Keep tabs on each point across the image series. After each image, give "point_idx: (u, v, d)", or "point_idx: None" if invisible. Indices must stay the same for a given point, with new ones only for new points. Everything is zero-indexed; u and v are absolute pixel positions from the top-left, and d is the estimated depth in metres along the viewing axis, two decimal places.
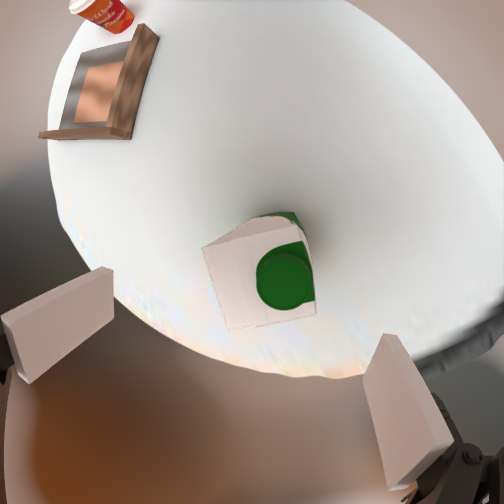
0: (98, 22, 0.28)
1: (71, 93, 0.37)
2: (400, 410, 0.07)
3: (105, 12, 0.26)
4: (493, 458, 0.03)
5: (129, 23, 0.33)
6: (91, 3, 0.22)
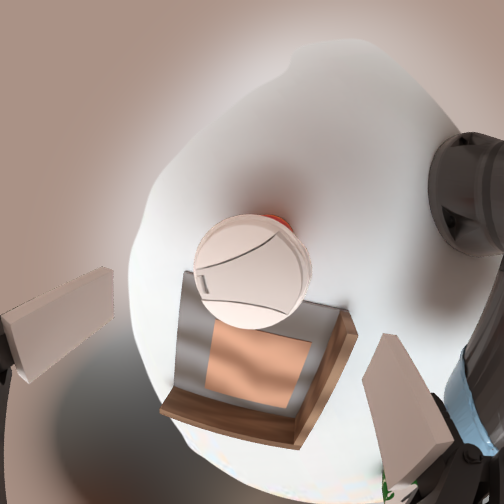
0: None
1: (186, 345, 0.34)
2: (400, 410, 0.07)
3: None
4: (493, 458, 0.03)
5: None
6: None
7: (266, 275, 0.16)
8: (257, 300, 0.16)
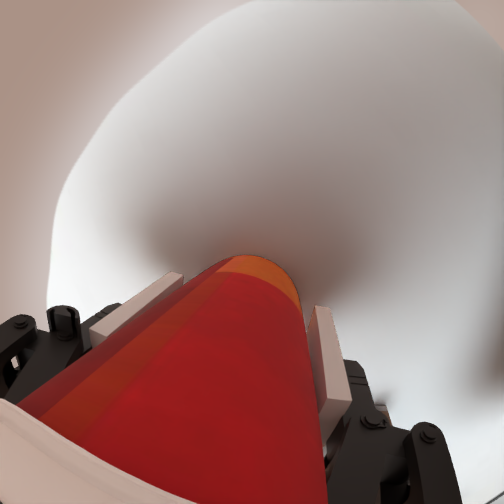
0: None
1: None
2: (313, 371, 0.09)
3: None
4: (407, 437, 0.05)
5: None
6: None
7: None
8: None
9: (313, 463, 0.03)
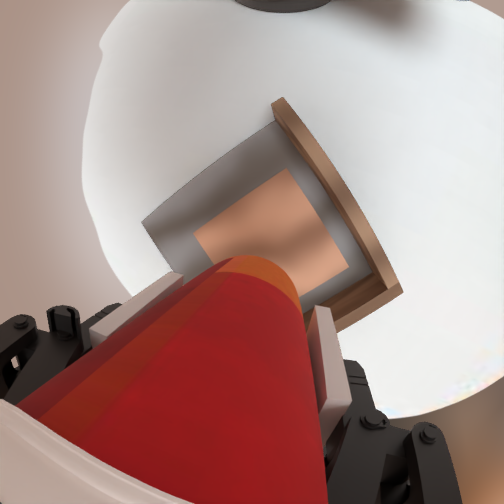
0: None
1: None
2: (313, 371, 0.09)
3: None
4: (407, 436, 0.05)
5: None
6: None
7: None
8: None
9: (313, 464, 0.03)
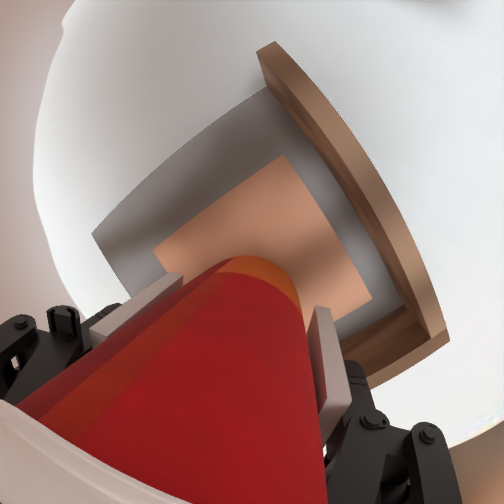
0: None
1: None
2: (313, 371, 0.09)
3: None
4: (407, 436, 0.05)
5: None
6: None
7: None
8: None
9: (313, 464, 0.03)
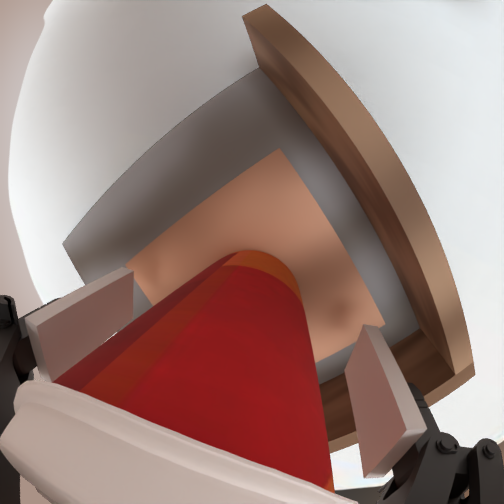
0: None
1: None
2: (376, 397, 0.08)
3: None
4: (471, 451, 0.04)
5: None
6: None
7: None
8: None
9: (318, 432, 0.04)
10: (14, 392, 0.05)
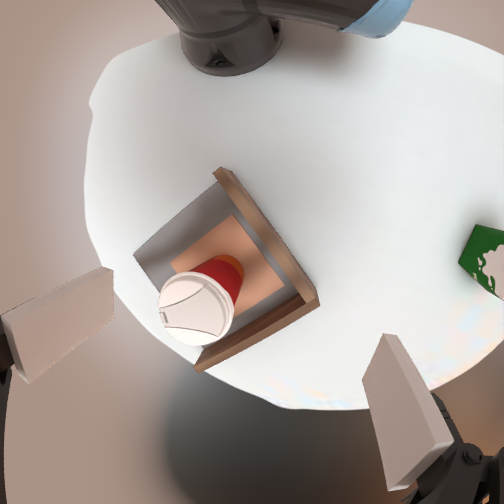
0: None
1: None
2: (400, 410, 0.07)
3: None
4: (493, 458, 0.03)
5: None
6: (216, 337, 0.26)
7: (201, 312, 0.24)
8: (198, 327, 0.24)
9: (226, 287, 0.26)
10: None
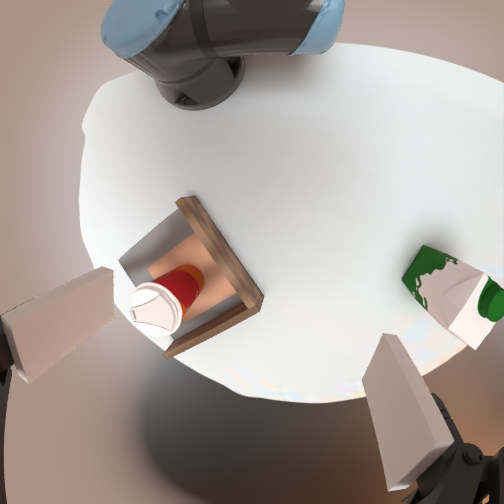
0: None
1: None
2: (400, 410, 0.07)
3: None
4: (493, 458, 0.03)
5: None
6: (171, 331, 0.34)
7: (158, 312, 0.32)
8: (156, 323, 0.32)
9: (179, 295, 0.34)
10: None
